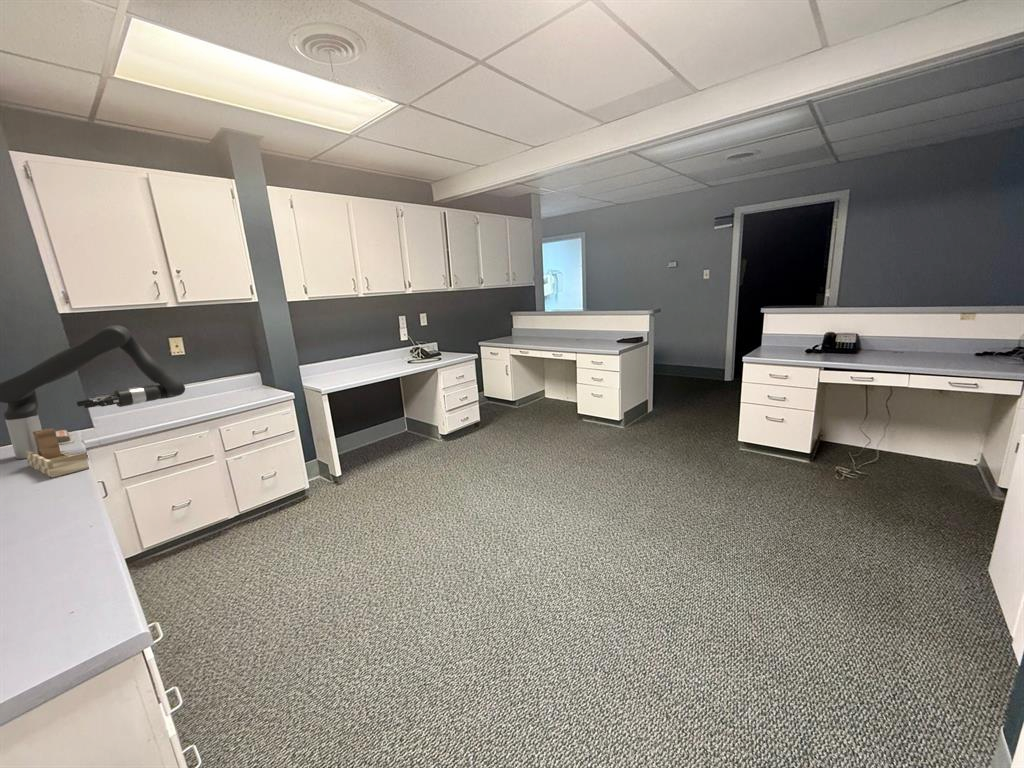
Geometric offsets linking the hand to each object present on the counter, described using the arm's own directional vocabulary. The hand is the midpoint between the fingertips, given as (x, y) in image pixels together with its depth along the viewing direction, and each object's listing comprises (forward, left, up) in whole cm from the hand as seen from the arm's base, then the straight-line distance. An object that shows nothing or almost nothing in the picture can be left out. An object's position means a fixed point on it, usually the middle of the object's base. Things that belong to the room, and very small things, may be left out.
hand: (80, 404), depth 173 cm
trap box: (+7, -12, -22) cm, 26 cm away
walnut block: (0, -12, -22) cm, 25 cm away
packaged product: (-45, 0, -23) cm, 51 cm away
